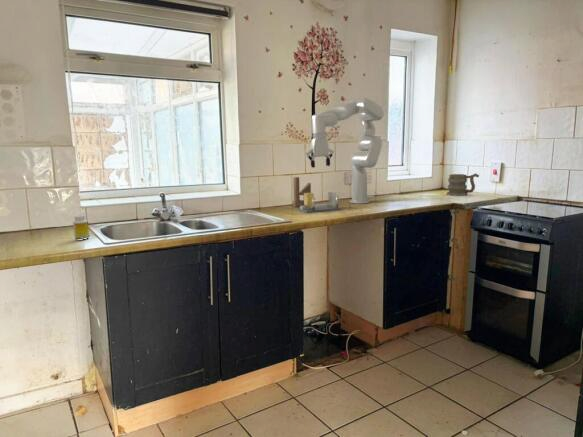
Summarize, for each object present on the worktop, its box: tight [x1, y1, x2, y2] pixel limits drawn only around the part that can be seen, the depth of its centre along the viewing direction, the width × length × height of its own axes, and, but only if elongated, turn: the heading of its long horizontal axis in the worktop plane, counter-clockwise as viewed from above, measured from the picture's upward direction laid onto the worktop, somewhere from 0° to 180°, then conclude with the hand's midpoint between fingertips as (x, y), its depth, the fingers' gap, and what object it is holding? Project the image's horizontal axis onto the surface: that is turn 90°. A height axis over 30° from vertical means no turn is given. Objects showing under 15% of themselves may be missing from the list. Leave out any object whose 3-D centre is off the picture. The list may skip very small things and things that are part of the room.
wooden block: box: [292, 176, 312, 208], centre depth 267 cm, size 4×11×18 cm, turn 113°
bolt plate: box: [296, 205, 342, 214], centre depth 252 cm, size 22×13×1 cm, turn 114°
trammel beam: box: [299, 191, 340, 209], centre depth 250 cm, size 21×9×8 cm, turn 114°
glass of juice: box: [72, 214, 90, 240], centre depth 186 cm, size 6×6×10 cm
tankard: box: [446, 173, 480, 197], centre depth 301 cm, size 20×13×15 cm, turn 55°
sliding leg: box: [303, 192, 316, 209], centre depth 247 cm, size 4×9×8 cm, turn 24°
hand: (320, 166), depth 254 cm, fingers open, 9 cm apart
